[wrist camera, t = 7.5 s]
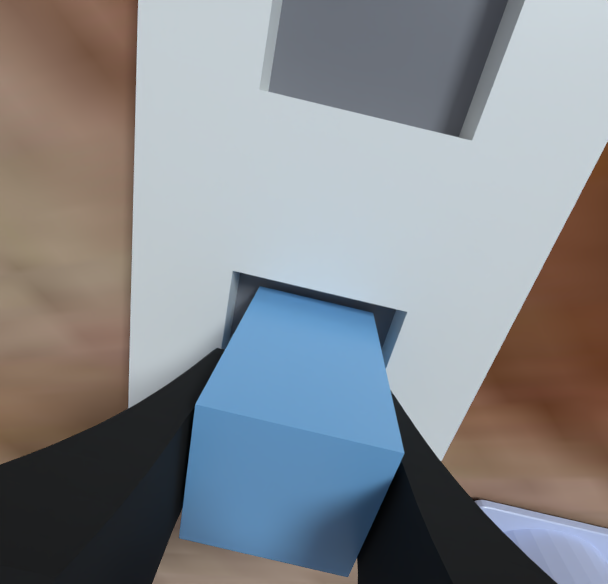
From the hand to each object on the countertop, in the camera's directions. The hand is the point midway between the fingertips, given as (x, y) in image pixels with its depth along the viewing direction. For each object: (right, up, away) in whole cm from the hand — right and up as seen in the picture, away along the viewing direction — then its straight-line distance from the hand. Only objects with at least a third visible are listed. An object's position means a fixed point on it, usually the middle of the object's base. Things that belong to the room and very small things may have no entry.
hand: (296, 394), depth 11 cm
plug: (0, +1, +2) cm, 3 cm away
